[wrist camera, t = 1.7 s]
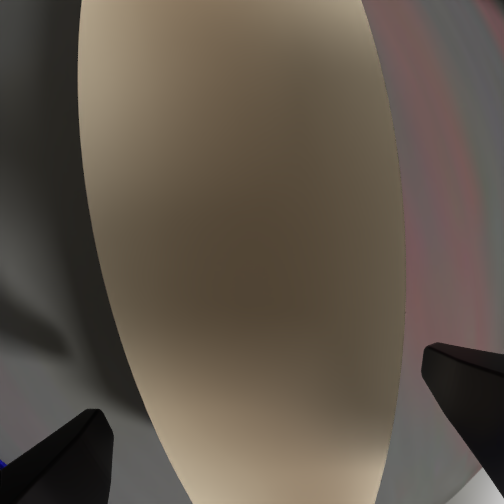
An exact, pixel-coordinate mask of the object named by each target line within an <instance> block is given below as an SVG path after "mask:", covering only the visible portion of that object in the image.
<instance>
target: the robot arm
mask: <svg viewBox="0 0 504 504" xmlns="http://www.w3.org/2000/svg"><path fill="white" fill-rule="evenodd" d="M421 373H422V377H423V379H424V381H425V382H426V384H427V386H428V387H429V389H430V391H431V392H432V394H433V396H434V397H435V399H436V401H437V402H438V404H439V406H440V408H441V409H442V411H443V412H444V414H445V415H446V417H447V418H448V420H449V421H450V422H451V424H452V425H453V426H454V428H455V429H456V430H457V432H458V433H459V434H460V436H461V437H462V439H463V440H464V441H465V443H466V444H467V446H468V447H469V448H470V450H471V451H472V453H473V454H474V455H475V457H476V458H477V460H478V461H479V462H480V464H481V465H482V467H483V468H484V470H485V471H486V472H487V474H488V475H489V477H490V478H491V480H492V481H493V483H494V484H495V486H496V487H497V489H498V490H499V492H500V493H501V495H502V496H503V498H504V354H498V353H492V352H486V351H481V350H475V349H470V348H464V347H459V346H454V345H449V344H444V343H438V342H437V343H434V344H431V345H428V346H427V347H425V349H424V353H423V361H422V368H421ZM113 442H114V435H113V431H112V429H111V427H110V425H109V423H108V421H107V419H106V417H105V415H104V413H103V412H102V411H101V410H100V409H86V410H84V411H83V412H82V413H80V414H79V415H78V416H76V417H75V418H73V419H72V420H71V421H69V422H68V423H66V424H65V425H64V426H62V427H61V428H59V429H58V430H57V431H55V432H54V433H52V434H51V435H50V436H48V437H47V438H45V439H44V440H43V441H41V442H40V443H38V444H37V445H35V446H34V447H33V448H31V449H30V450H28V451H27V452H25V453H24V454H23V455H21V456H20V457H18V458H17V459H15V460H14V461H12V462H11V463H9V464H8V465H7V466H5V467H4V468H2V470H0V504H108V498H109V492H110V485H111V472H112V455H113Z"/></svg>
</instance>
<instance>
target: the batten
mask: <svg viewBox="0 0 504 504" xmlns="http://www.w3.org/2000/svg"><path fill="white" fill-rule="evenodd" d="M78 108H79V127H80V140H81V151H82V161H83V170H84V178H85V185H86V193H87V199H88V206H89V212H90V218H91V223H92V229H93V234H94V239H95V244H96V249H97V253H98V258H99V262H100V267H101V271H102V275H103V279H104V283H105V287H106V291H107V295H108V298H109V302H110V306H111V309H112V313H113V316H114V320H115V323H116V326H117V329H118V333H119V336H120V339H121V342H122V345H123V348H124V351H125V354H126V357H127V360H128V363H129V366H130V368H131V371H132V374H133V377H134V379H135V382H136V385H137V387H138V390H139V392H140V395H141V397H142V400H143V402H144V405H145V407H146V410H147V412H148V414H149V417H150V419H151V421H152V424H153V426H154V428H155V430H156V433H157V435H158V437H159V439H160V441H161V443H162V445H163V448H164V450H165V452H166V454H167V456H168V458H169V460H170V462H171V464H172V466H173V468H174V470H175V472H176V473H177V475H178V477H179V479H180V481H181V483H182V485H183V486H184V488H185V490H186V492H187V494H188V495H189V497H190V499H191V501H192V502H193V504H374V503H375V500H376V496H377V493H378V489H379V486H380V482H381V478H382V474H383V470H384V466H385V461H386V457H387V452H388V448H389V443H390V438H391V433H392V427H393V422H394V416H395V410H396V403H397V397H398V389H399V381H400V373H401V363H402V353H403V341H404V325H405V302H406V249H405V226H404V210H403V198H402V187H401V177H400V169H399V161H398V153H397V146H396V139H395V133H394V127H393V121H392V116H391V111H390V105H389V100H388V96H387V91H386V86H385V82H384V78H383V73H382V69H381V65H380V61H379V58H378V54H377V50H376V46H375V43H374V39H373V36H372V33H371V29H370V26H369V23H368V20H367V17H366V14H365V11H364V8H363V5H362V2H361V0H82V4H81V14H80V27H79V44H78Z"/></svg>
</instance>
